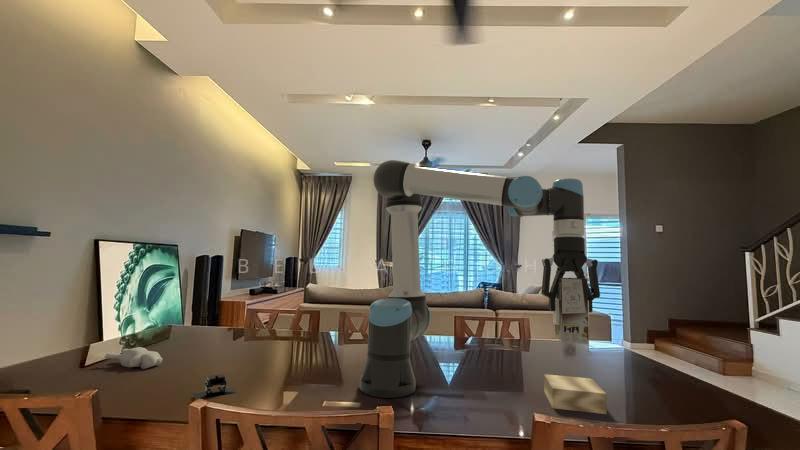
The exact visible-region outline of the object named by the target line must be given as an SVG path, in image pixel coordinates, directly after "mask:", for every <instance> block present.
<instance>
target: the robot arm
mask: <svg viewBox="0 0 800 450" xmlns="http://www.w3.org/2000/svg"><path fill="white" fill-rule="evenodd" d="M373 185H374V188H375V190H376V191H377V193H378V194H379V195H381V197H383V198H385V210H386V211H387V212H388V213H389V214H390V223H391V224H390V226H391V228H390V231H391V255H392V259H391V261H392V264H391V265H392V291H391V292H390V293H389V294H388V298H385V299H384V298H382V299H377V300H375V301H373V302H372V303H371V304H370V306H369V313H368V315H367V319H368V326H367V327H368V331H367V332H368V333H367V355H366V357H367V358H366V361H365V364H364V366H363V370H362V373H361V376H360V378H359V390H360V391H361V392H362V393H363V394H365V395H367V396H371V397H375V398H382V399H383V398H384V399H397V398H403V397H407V396H410V395H412V394H413V393H415V392H416V383H417V381H416V377H415V374H414V370H413V366H412V362H411V341H413V340H415V339H418V338H420V337H421V336H423V335H424V334H425V332H427V330H428V329H429V327H430V324H431V322H432V321H431V320H432V315H431V311H430V308H429V307H428V305H427V297H426V296H427V295H426V293H425V292H424V291H423V290H422V289H421V270H420V269H421V268H420V267H421V265H420V264H421V263H420V245H419V242H420V240H419V213H420V212H421V210H422V209H423V200H424V197H425V196H430V197H436V198H443V199H444V198H445V199H451V200H457V201H458V200H459V201H467V202H472V203H473V202H474V203H481V204H487V205H495V206H499V207H501V206H502V207H506V208H507V213H508V215H509V216H510V217H520V218H523V217H536V216H537V217H538V216H553V220H552V221H553V235H554V238H553V255H552V257H549V258H542V259H541V262H542V265H543V272H542V283H541V292H540V294H541V295H542V296H544V297H546V298H548V309H549V311H551V312H552V324H554V325H555V324H556V325H559V299H556V295H557V292H558V290H559V278H564V276H565V274H566V272H567V273H568V272H571V273H574V275H575V278H583V279H587V278H586V275H585V272H584V269H583V266H584V265H585V264H586V267H587V272H588V273H587V274H588V279H589V283H588V282H587V290H588V327H590V313H593V301H594V300H596V299H598V298H600V297H601V293H600V286H599V278H598V277H599V276H598V271H597V267H598V264H599V261H598V260H597V259H593V258H588V257H587V256H586V246H585V245H586V240H585V238H584V235H585V214H584V213H585V204H584V201H585V200H584V199H585V198H584V196H585V195H584V187H583V183H582V181H581V180H580V179H577V178H571V177H570V178H561V179H556V180H554V181H553V183H552V186H551V187H549V188H542V185H541V183H539V181H538V180H537V179H536V178H535V177H533V176H531V175H520V176H518V177H512V176H511V177H510V176H501V175H493V174H484V173H478V172H477V173H475V172H466V171H457V170H449V169H440V168H432V167H422V166H418V165H417V164H416V163H415V162H411V161H404V160H403V161H402V160H396V159H389V160H386V161H384V162H382V163H380V164H379V165H378V167H377V168H376V169H375V172H374V173H373ZM553 262H554V263H555V266H557V268H556V271H555V276H554V278H553V281H552V284H551V273H552V265H553ZM550 284H551V285H550ZM550 286H551V287H550Z"/></svg>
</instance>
